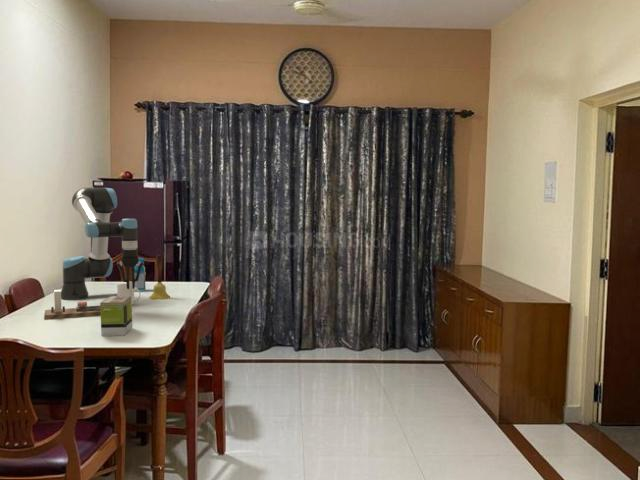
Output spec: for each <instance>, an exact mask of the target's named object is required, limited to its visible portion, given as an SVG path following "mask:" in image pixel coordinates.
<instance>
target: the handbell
mask: <svg viewBox="0 0 640 480" xmlns="http://www.w3.org/2000/svg"><path fill="white" fill-rule="evenodd" d="M163 263H164V262H163V256H162V255H161V254H157V257H156V269H157V283H156V284H155V285H154V286H153V292H152V294H151V295H150V296H149V297H148V299H150V300H155V299H161V300H168V298H169V299H171V298H170V297H171V295H169V294H168V293H167V289H166V287H167V286H166V285H165V284H163V282H162V271H163V270H162V269H163Z"/></svg>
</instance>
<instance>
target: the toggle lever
mask: <svg viewBox="0 0 640 480" xmlns="http://www.w3.org/2000/svg"><path fill="white" fill-rule="evenodd" d="M61 290H62V289H54V291H53V293H54V295H53V296H54V297H53V298H54V300H53V301H54V309H55V311H56V310H61V309H62V299H61Z"/></svg>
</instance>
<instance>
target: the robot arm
mask: <svg viewBox="0 0 640 480" xmlns="http://www.w3.org/2000/svg"><path fill="white" fill-rule="evenodd" d="M71 205H72V206H73V208H74V210H75V211H77V212H78V213H79V215H80V217H81V219H82V220H83V221H84V223H85V226H84V232H85V236H86V237H87V238H92V242H91V243H92V244H91V252H90V253H88V258H86V257H85V256H83V255H79V256H78V255H77V256H71V257H67V258H65V259H63V261H62V282H63V283H62V287H61V289H60V290H61V300H83V299H87V298H89V292H88V288H87V285H86V279H96V278H101V279H102V278H107V277H109V276H110V275H111V274H112V272H113V267H114V264H113V263H114V261H113V258H112V257H111V255H110V254H109V253H108V247H109V238H117V237H118V238H119V237H121V249H122V250H121V255H122V257H121V260H120V261H119V262H117V263H116V265H117V267H118V268H119V271H120V274H121V275H120V276H121V278H122V279H121V280H122V282H124V283H125V284H127V289H129V296H132V295H133V293H132V289H134V288H135V282H136V281H138V279H139V275H140V270H141V267H142V265H144V264H143V262H140V261H139V259H138V258H139V253H138V252H139V251H138V219H136V218H122V219H121V221H118V222H117V221H116V222H115V221H114V222H111V221H110V219H111V214H113V212H114V209H117V206H118V197H117V194H116V191H115V190H114V189H113V188H110V187H83V188H81V189H78V190H76V191H75V192H74V194H73V196H72V198H71ZM137 263H138V265H139V266H138V270H137V274H136V278H135V275H134V267H135V266H136V264H137ZM123 266H124V267H125V270H126V273H124V269H123ZM130 268H131V281H130ZM125 275H126V276H125Z"/></svg>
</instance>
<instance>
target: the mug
mask: <svg viewBox="0 0 640 480" xmlns="http://www.w3.org/2000/svg"><path fill="white" fill-rule="evenodd" d="M116 286H117V291H116V292H117V293H116V295H117V296H129V289H127V283H119V284H117V285H116ZM134 290H135V291H134ZM135 292H138V293H139V294H138V295H139V296H138V298H136V297H135ZM132 293H133V295H132V296H131V301H132V305H134V304H135V302H138V301H139V300H140V298H141V291H139V290H138V289H137V288H134V289H132Z"/></svg>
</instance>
